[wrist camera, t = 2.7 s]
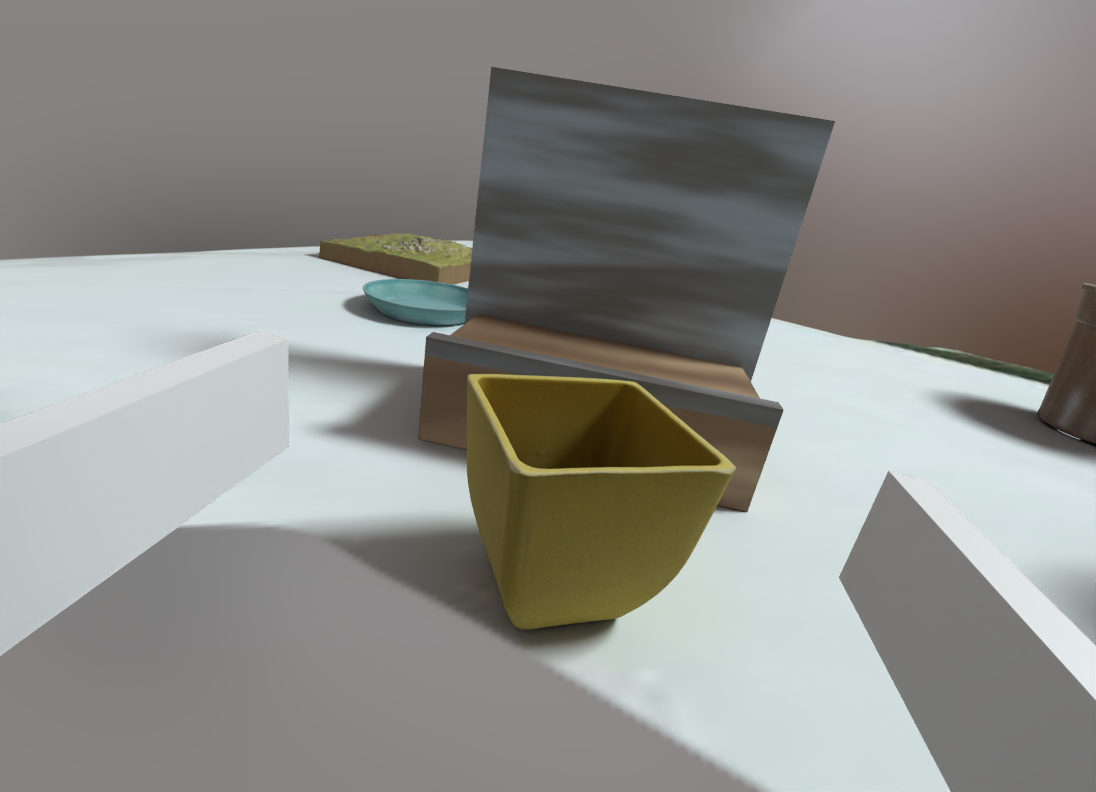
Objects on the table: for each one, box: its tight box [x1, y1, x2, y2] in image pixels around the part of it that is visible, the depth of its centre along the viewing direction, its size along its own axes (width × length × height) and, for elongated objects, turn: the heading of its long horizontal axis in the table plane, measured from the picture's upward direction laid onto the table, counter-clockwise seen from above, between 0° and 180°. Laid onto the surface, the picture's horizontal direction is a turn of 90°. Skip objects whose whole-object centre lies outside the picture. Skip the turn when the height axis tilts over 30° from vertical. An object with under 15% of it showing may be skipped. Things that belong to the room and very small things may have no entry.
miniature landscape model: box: [319, 233, 472, 285], centre depth 92 cm, size 22×24×5 cm
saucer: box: [363, 279, 468, 326], centre depth 66 cm, size 15×15×3 cm
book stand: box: [418, 67, 835, 512], centre depth 38 cm, size 14×24×24 cm, turn 81°
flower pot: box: [467, 374, 736, 630], centre depth 24 cm, size 9×9×9 cm
